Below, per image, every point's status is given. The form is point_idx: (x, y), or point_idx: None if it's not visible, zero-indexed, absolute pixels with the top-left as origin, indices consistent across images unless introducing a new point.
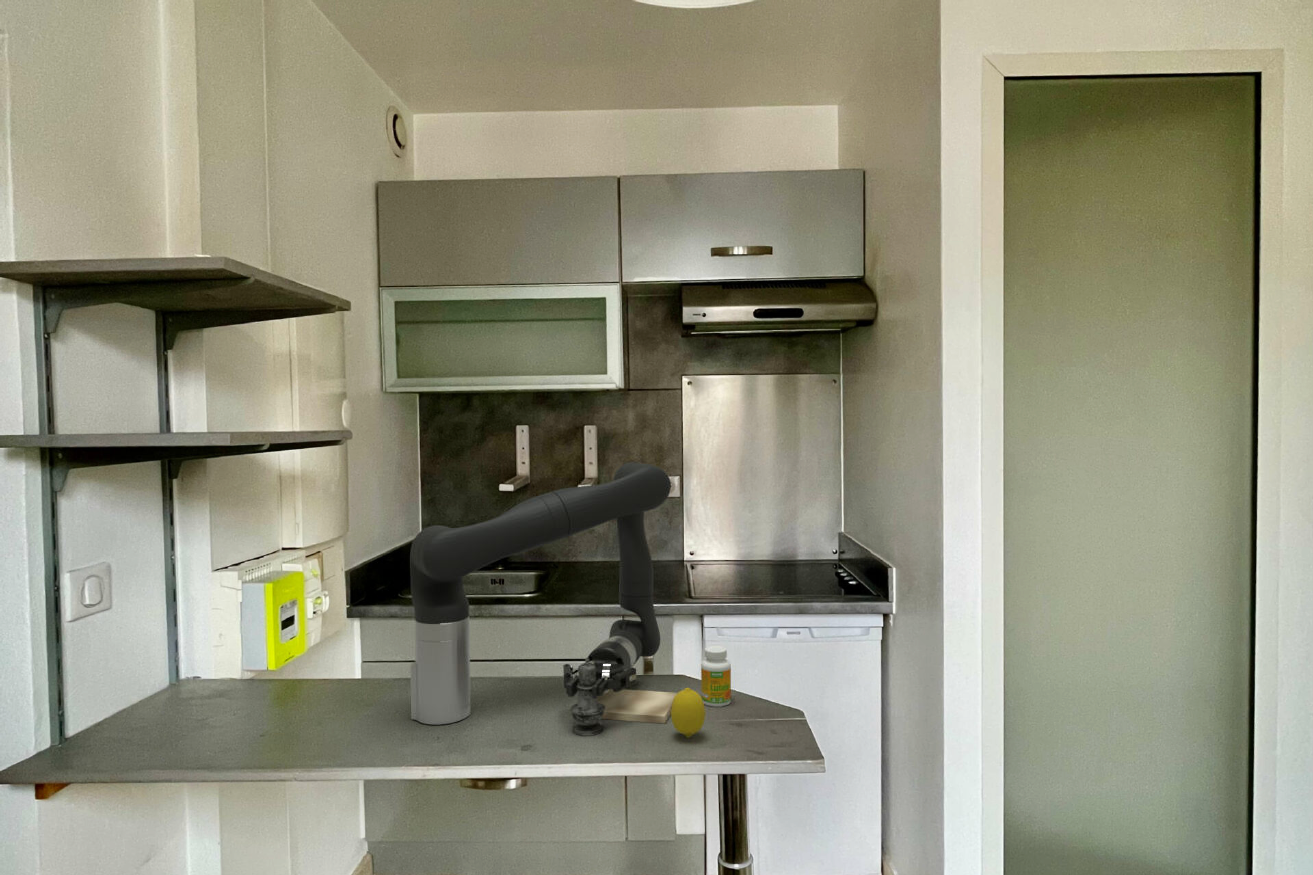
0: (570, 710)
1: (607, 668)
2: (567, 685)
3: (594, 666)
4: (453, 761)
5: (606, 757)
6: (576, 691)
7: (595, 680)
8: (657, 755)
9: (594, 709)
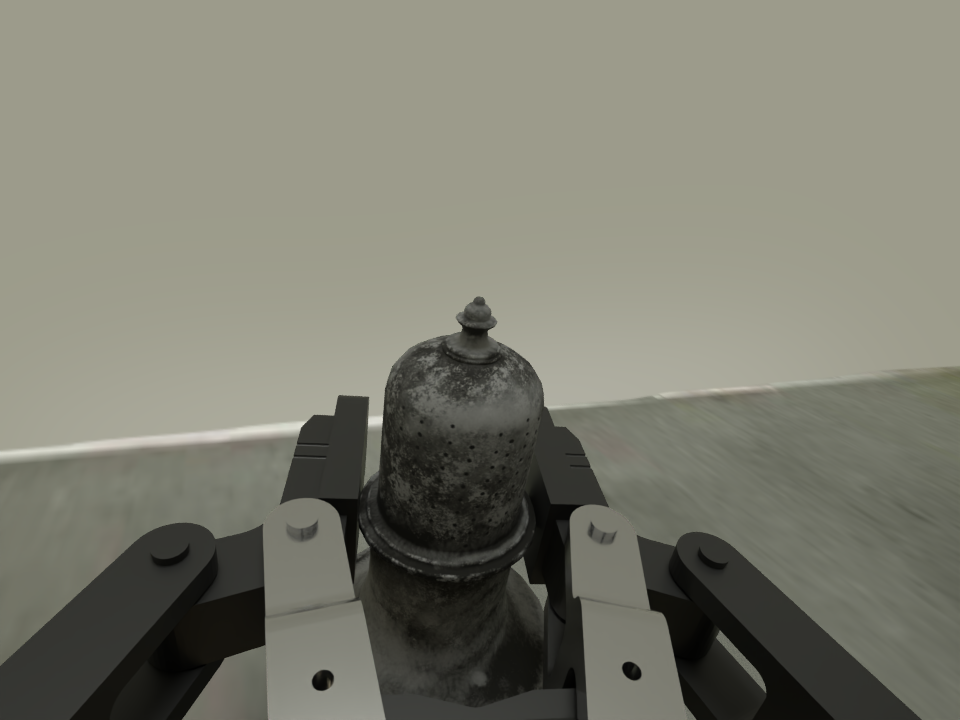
0: (522, 579)
1: (303, 688)
2: (556, 429)
3: (397, 370)
4: (699, 410)
5: (258, 465)
6: None
7: (380, 471)
8: (17, 499)
9: (364, 568)
